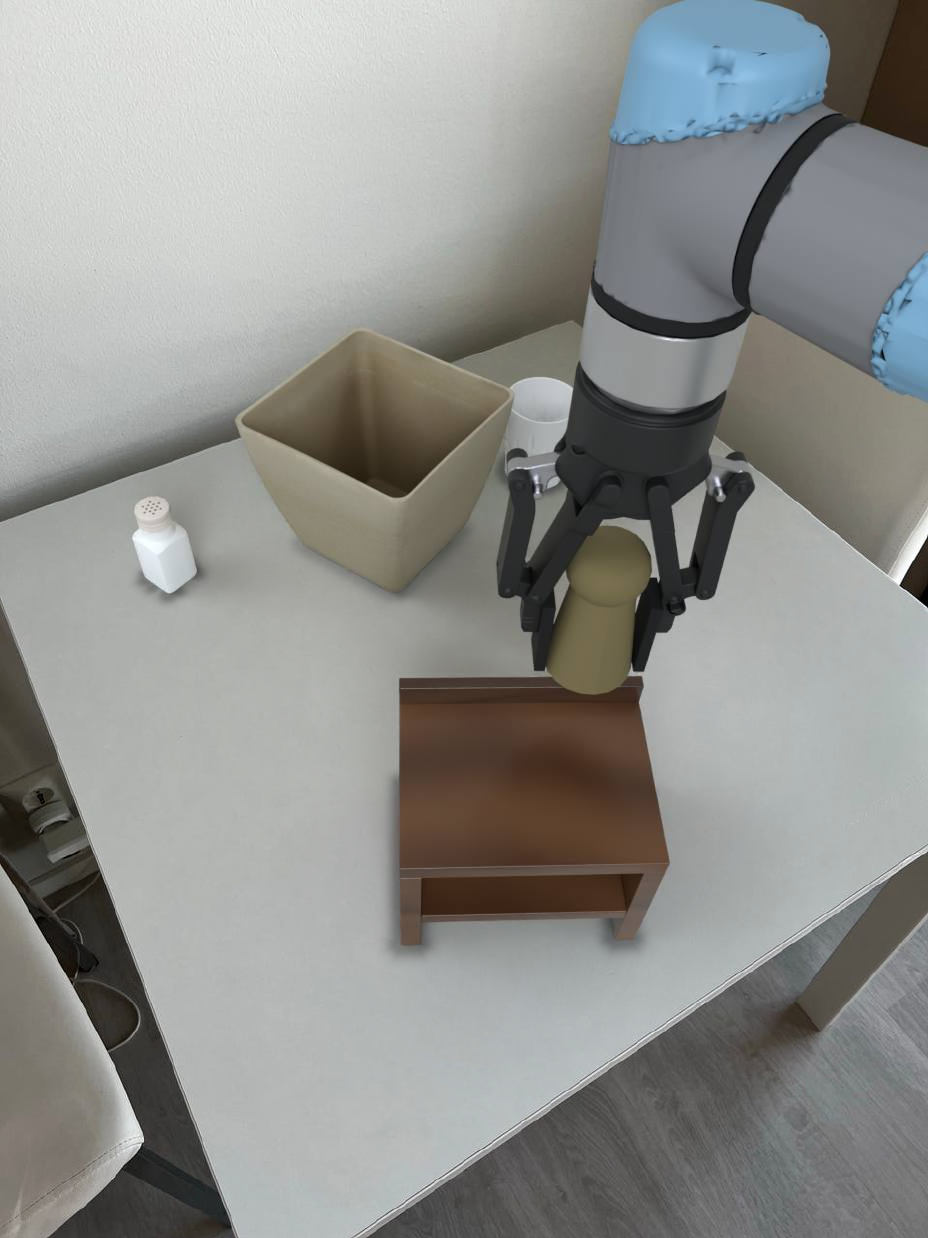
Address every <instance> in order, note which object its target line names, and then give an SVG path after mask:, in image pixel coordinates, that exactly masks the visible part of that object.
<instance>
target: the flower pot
mask: <svg viewBox="0 0 928 1238" xmlns="http://www.w3.org/2000/svg"><path fill="white" fill-rule="evenodd" d="M514 397H515V393H514V392H513V390H512V389H510V387H508V386H505V385H503V384H500V383H499V382H496V381H493V380H491V379H488V378H485V377H483V376H481V375H478V374H476V373H474V372H472V371H469V370H467V369H465V368H462V367H459V366H457V365H454V364H452V363H450V362H448V361H446V360H443V359H440V358H438V357H436V356H434V355H431V354H430V353H426V352H424V351H422V350H419V349H417V348H415V347H413V346H410V345H408V344H406V343H404V342H401V341H398V340H397V339H394V338H393V337H390V336H387V335H385V334H382V333H380V332H377V331H376V330H374V329H371V328H369V327H363V326H359V327H355V328H353V329H351V330H350V331H348V332H347V333H346V334H345V335H343V336H341V337H340V338H339V339H338V340H336V341H335V342H334V343H332V344H331V345H330V346H328V347H327V348H326V349H324V350H323V351H322V352H320V353H319V354H318V355H316V356H315V357H314V358H312V359H311V360H310V361H308V362H307V363H306V364H304V365H303V366H301V367H300V368H299V369H298V370H296V371H295V372H294V373H292V374H291V375H289V376H288V377H287V378H285V379H284V380H283V381H281V382H280V383H279V384H277V385H276V386H275V387H273V388H271V390H269V391H268V392H267V393H264V395H263V396H262V397H259V399H257V400H256V401H255V402H254V403H252V404H251V405H249V406H248V407H247V408H246V409H244V410H242V411H241V412H240V413H239V414H237V416H236V417H235V419H234V423H235V426H236V428H237V429H238V433H239V436H240V438H241V441H242V443H243V446H244V448H245V450H246V451H247V452H246V453H247V455H248V457H249V459H250V461H251V463H252V465H253V467H254V469H255V471H256V474H257V475H258V477H259V479H260V480H261V483H262V484H263V486H264V488H265V489H266V491H267V494H268V496H270V498H271V500H272V501H273V503H274V505H275V506H276V508H277V509H278V511H279V512H280V514H281V516H282V517H283V519H284V520H285V521H286V523H287V524H288V526H289V528H290V529H291V530H292V531H293V533H294V534H295V535H296V537H297V538H298V539H299V540H300V542H301V543H302V545H303V546H304V547H306V548H308V549H310V550H312V551H313V552H316V553H317V554H319V555H321V556H323V557H325V558H326V559H328V560H330V561H332V562H334V563H336V564H337V565H339V566H341V567H343V568H345V569H347V570H348V571H350V572H353V573H354V574H355V575H358V576H360V577H362V579H365V580H367V581H369V582H371V583H373V584H374V585H376V586H379V587H381V588H382V589H384V590H386V591H388V592H391V593H399V592H401V591H403V590H404V589H405V588H406V587H407V586H408V585H409V584H410V583H411V582H412V581H413V580H414V579H415V578H416V577H417V576H418V575H419V574H420V573H421V571H422V570H423V569H424V568H426V567H427V566H428V564H429V563H430V562H432V561H433V559H434V558H436V556H437V555H438V554H439V553H440V552H441V551H443V549H444V548H445V547H446V546H447V545H448V544H449V543H450V542H451V541H452V540H453V538H454V537H455V536H457V535H458V533H459V532H460V531H461V530H462V529H463V528H464V527H465V525H466V523H467V522H468V520H469V518H470V516H471V515H472V512H473V510H474V509H475V507H476V505H477V502H478V500H479V499H480V497H481V494H482V492H483V489H484V488H485V485H486V483H487V481H488V479H489V477H490V474H491V471H492V469H493V466H494V464H495V462H496V460H497V459H496V458H497V456H498V454H499V451H500V448H501V445H502V443H503V440H504V437H505V430H506V427H507V423H508V420H509V416H510V413H511V409H512V405H513V401H514Z"/></svg>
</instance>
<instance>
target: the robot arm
mask: <svg viewBox="0 0 928 1238" xmlns="http://www.w3.org/2000/svg"><path fill="white" fill-rule="evenodd" d="M830 60H831V47H830V44H829V39H828V38H827V36H826V33H825V32H824V31H823V30H822V29H821V28H820V27H819V25H817V24H814V23H812V22H809V21H807V20H806V19H805V17H804V15H802V14H801V13H799V12H797V11H796V10H792V9H789V8H787V7H783V6H781V5H777V4H774V3H770V2H766V1H761V0H680V1H678V2H675V3H672V4H670V5H667V6H663V7H661V8H659V9H657V10H656V11H654V12H653V13H652V14H651V15H649V16H648V17H647V18H646V19H645V20H644V21H643V22H642V23H641V24H640V26H639V28H638V29H637V30H636V32H635V34H634V36H633V39H632V41H631V44H630V48H629V53H628V57H627V63H626V67H625V72H624V77H623V81H622V87H621V90H620V95H619V96H620V97H619V100H618V105H617V109H616V115H615V119H614V121H613V122H612V123H611V125H610V128H609V133H608V137H609V140H610V142H609V149H608V157H607V166H606V175H605V176H606V177H605V184H604V191H603V199H602V200H603V201H602V210H601V217H600V224H599V225H600V227H599V235H598V244H597V252H596V258H595V260H594V261H593V263H592V273H591V279H590V285H589V289H588V296H587V303H586V308H585V314H584V320H583V324H582V332H581V337H580V342H579V347H578V348H579V349H578V351H579V352H578V359H579V360H578V362H577V364H576V368H575V374H574V380H573V386H572V388H573V392H572V399H571V405H570V411H569V417H568V424H567V429H566V432H565V434H564V435H563V437H562V438H561V439H560V440H559V442H558V443H557V444H556V446H555V448H554V451H553V452H550V453H545V454H540V455H535V456H530V457H528V454H527V452H526V451H525V450H524V449H521V448H514V449H511V450H510V451H509V452H508V453H507V455H506V461H507V474H508V476H507V486H508V491H509V495H508V501H507V505H506V510H505V516H504V521H503V527H502V531H501V536H500V542H499V546H498V551H497V557H496V561H495V565H496V567H495V568H496V584H497V587H496V588H497V595H498V596H499V597H500V598H502V599H506V600H507V599H513V598H515V597H519V598H521V599H520V605H519V619H520V628H521V631H522V632H523V633H531V637H530V642H531V643H530V644H531V657H532V666H533V667H532V668H533V672H545V671H546V662H547V656H548V651H549V645H550V640H551V634H552V629H553V624H554V622H555V619H556V612H557V604H556V603H557V602H556V595H555V587H556V586H557V584H558V582H559V581H560V579H561V578H562V576H563V575H564V573H565V572H566V568H567V567H568V565H569V564H570V562H571V561H572V559H573V558H574V556H575V555H576V553H577V552H578V550H579V548H580V547H581V545H582V544H583V542H584V541H585V539H586V538H587V536H593V534H594V533H595V532H596V530H597V529H598V527H599V526H601V524H602V522H603V521H604V520H605V521H606V520H609V521H611V520H616V519H621V518H626V519H632V520H635V521H649V524H650V531H651V537H652V542H653V548H654V553H655V554H654V555H655V561H656V567H657V570H658V571H657V574H658V577H657V576H655V577H654V576H652V577H651V576H650V579H649V582H648V585H647V587H646V588H645V590H644V591H643V592H642V593H641V594H640V595H639V597H638V602H637V605H636V610H635V623H634V635H633V648H632V661H631V668H632V672H633V673H645V671H646V667H647V663H648V661H649V657H650V654H651V651H652V648H653V644H654V642H655V639H656V638H655V637H656V636H657V634H667V633H668V632H669V631H670V630H671V629H672V628H673V624H674V622H675V619H676V617H679V616H681V615H683V614H685V613H686V611H687V606H686V601H685V600H686V599H688V598H692V597H693V598H694V597H695V598H696V599H697V600H699V601H708V600H710V599H712V598H714V596H715V595H716V592H717V589H718V585H719V582H720V579H721V578H720V577H721V574H722V571H723V566H724V564H725V560H726V556H727V552H728V548H729V545H730V541H731V537H732V533H733V530H734V527H735V522H736V519H737V516H738V513H739V511H740V510H741V509H742V507H743V506H744V505H745V503H746V502H747V501H748V500H749V498H750V497H751V495H752V494H753V493H754V492H755V490H756V483H755V481H754V478H753V475H752V472H751V469H750V466H749V463H748V459H747V456H746V455H745V453H744V452H742V451H732V452H730V453H728V454H727V455H726V456H725V457H722V456H719V455H714V454H711V453H710V448H711V446H712V442H713V440H714V437H715V433H716V430H717V426H718V423H719V420H720V418H721V414H722V410H723V408H724V404H725V401H726V398H727V390H728V388H729V385H730V384H731V381H732V379H733V377H734V374H735V370H736V366H737V363H738V359H739V356H740V353H741V349H742V347H743V343H744V340H745V336H746V332H747V329H748V326H749V322H750V318H751V315H752V313H753V314H754V315H757V316H761V317H764V318H766V319H768V320H769V321H771V322H773V323H775V324H776V325H778V326H780V327H782V328H784V329H785V330H786V331H789V332H791V333H793V334H794V335H796V336H798V337H799V338H801V339H803V340H805V341H807V342H809V343H811V344H812V345H813V346H816V347H818V348H819V349H821V350H822V351H824V352H826V353H828V354H830V355H832V356H833V357H835V358H837V359H839V360H841V361H842V362H844V363H846V364H847V365H849V366H852V367H853V368H855V369H857V370H859V371H861V372H862V373H863V374H865V375H868V376H869V377H871V378H873V379H875V380H876V381H877V382H879V384H882V385H883V387H884V388H885V389H887V390H889V391H891V392H895V393H896V394H899V395H901V396H906V395H908V396H910V397H912V398H916V399H918V400H921V401H923V402H925V403H928V146H923V145H921V144H918V143H915V142H912V141H909V140H906V139H904V138H900V137H897V136H895V135H891V134H890V133H887V132H884V131H881V130H878V129H876V128H873V127H870V126H867V125H866V124H864V123H862V122H860V121H858V120H856V119H853V118H851V117H848V116H847V115H846V114H843V113H841V112H839V111H837V110H834V109H832V108H830V107H828V106H827V105H825V104H824V103H823V102H822V101H823V100H824V98H825V93H824V92H825V90H826V89H827V88H828V84H827V81H826V80H827V77H828V70H829V65H830ZM557 476H558V477H559V479H560V481H561V483H562V484H563V485H564V486H565V487H566V489H567V491H566V493H565V500H564V502H563V503H562V506H561V507H560V509H559V510H558V512H557V514H556V516H555V517H554V519H553V521H552V522H551V524H550V525H549V527H548V529H547V531H546V532H545V533H544V535H543V537H542V539H541V541H540V542H539V544H538V545H537V547H536V549H535V550H534V552H533V553H532V556H531V557H530V558H529V560H528V561H527V562H526V558H527V553H528V549H529V544H530V541H531V536H532V531H533V526H534V522H535V518H536V513H537V511H536V509H537V507H536V501H537V500H541V499H542V498H543V497H544V493H545V492H546V491H547V490H548V489H547V486H548V482H549V481H550V480H551V479H552V478H554V477H557ZM703 482H704V483H705V487H706V490H705V494H704V498H703V502H702V507H701V511H700V516H699V520H698V524H697V529H696V532H695V538H694V542H693V546H692V550H691V555H690V559H689V564H688V566H687V567H683V568H681V567H680V559H679V553H678V546H677V538H676V528H675V521H674V513H673V505H675V504H676V503H678V502H679V501H680V500H681V499H682V498H684V497H685V496H687V495H688V494H689V493H690V492H692V490H694V489H696V488H697V487H698V486H700V485H701V484H702V483H703ZM658 578H659V579H658Z"/></svg>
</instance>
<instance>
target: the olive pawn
mask: <svg viewBox="0 0 928 1238" xmlns="http://www.w3.org/2000/svg"><path fill="white" fill-rule="evenodd" d="M652 563H653V562H652V554H651V553H650V550H649V549H648V546H647V544H646V543H645V542H644V541H643V540H642V538H640V536H638V535H637V534H636V533H634V532H632V531H631V530H629V529H627V528H623V527H621V526H617V525H606V524H604V525H600V526H599V527H598V529H597V530H596V532H595V533H594V534H593V536H587V538H586V539H585V541H584V542H583V544H582V545H581V547H580V548H579V550H578V552H577V553H576V555H575V556H574V558H573V559H572V561H571V562H570V564H569V565H568V567H567V568H566V570H565V572H566V579H567V581H568V586H567V588H566V592H565V593H564V597H563V599H562V602H561V604H560V607H559V609H558V612H557V614H556V616H555V618H554V623H553V629H552V634H551V640H550V645H549V651H548V656H547V662H546V667H545V670H546V671H547V673H548V674H549V676H550V677H552V678H553V679H554V680H555V681H556V682H557V683H559V684H560V685H562V686H563V687H565V688H566V689H569V690H572V691H575V692H577V693H580V694H592V695H596V694H601V693H607V692H610V691H612V690H613V689H615V688H617V687H619V686H620V685H621V684H622V683H623V682H624V681H625V680H626V679H627V677H628V676H629V674H630V672H631V668H632V663H631V661H632V648H633V635H634V623H635V613H636V609H637V599H638V598H639V597H640V595H641V593H642V592H643V591H644V590H645V588H646V587H647V585H648V582H649V579H650V577H651V575H652V574H653V565H652Z"/></svg>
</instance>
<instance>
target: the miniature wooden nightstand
mask: <svg viewBox="0 0 928 1238" xmlns="http://www.w3.org/2000/svg"><path fill="white" fill-rule="evenodd" d="M644 688H645V684H644V678H643V676H642V675H628V677H627V679H626V680H625V681H624V682H623V683H622V684H621V685H620V686H619V687H617V688H615V689H613V690H612V691H610V692H607V693H601V694H596V695H592V694H580V693H577V692H575V691H572V690H569V689H566V688H565V687H563V686H562V685H560V684H559V683H557V682H556V681H555V680H554V679H553V678H552V676H491V677H490V676H479V677H478V676H475V677H471V676H469V677H468V676H467V677H466V676H465V677H399V678H398V698H399V699H398V703H399V705H398V707H399V709H398V710H399V711H398V713H399V714H398V724H399V725H398V726H399V728H398V759H399V760H398V772H399V773H398V887H399V888H398V890H399V924H400V925H399V926H400V927H399V928H400V931H399V932H400V946H421V944H422V943H421V942H422V940H421V937H422V923H453V922H457V923H459V922H460V923H461V922H497V921H498V922H499V921H503V922H504V921H541V920H543V921H544V920H585V919H587V920H588V919H611V923H612V924H611V925H612V929H613V938H614V940H615V941H633V940H635V938H636V935H637V934H638V932H639V929H640V927H641V925H642V923H643V921H644V919H645V917H646V915H647V913H648V910H649V908H650V906H651V904H652V902H653V900H654V898H655V897H656V894H657V892H658V890H659V888H660V885H661V883H662V881H663V880H664V877H665V875H666V873H667V871H668V868H669V867H670V864H671V861H670V856H669V851H668V846H667V845H668V844H667V841H666V840H667V839H666V836H665V831H664V830H665V829H664V825H663V820H662V814H661V809H660V804H659V799H658V794H657V788H656V784H655V779H654V773H653V767H652V763H651V756H650V752H649V747H648V741H647V735H646V732H645V726H644V721H643V715H642V710H641V705H640V700H641V697H642V694H643V691H644Z"/></svg>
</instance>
